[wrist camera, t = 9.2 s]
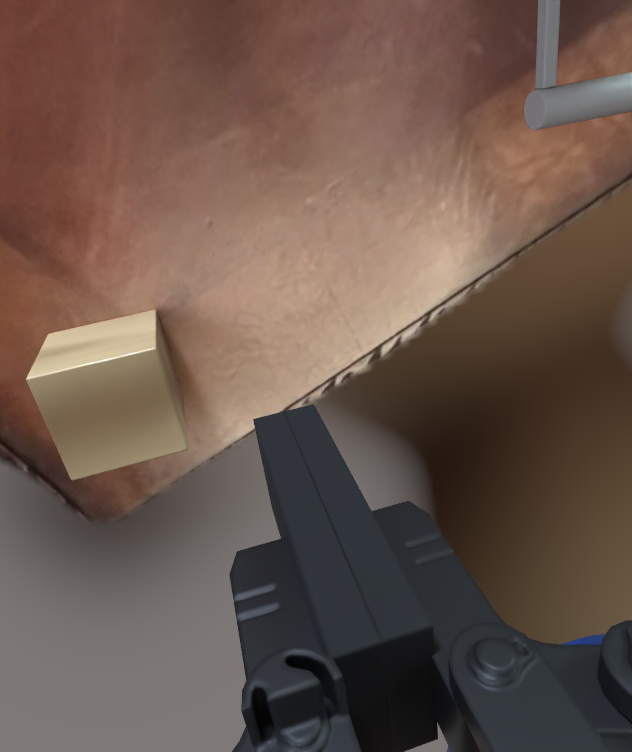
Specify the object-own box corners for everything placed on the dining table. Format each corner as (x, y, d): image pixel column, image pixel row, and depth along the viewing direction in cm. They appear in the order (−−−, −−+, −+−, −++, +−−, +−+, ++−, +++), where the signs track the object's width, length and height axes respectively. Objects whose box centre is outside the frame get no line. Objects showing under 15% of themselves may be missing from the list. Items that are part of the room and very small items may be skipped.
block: (183, 398, 28) (188, 450, 24) (84, 423, 28) (71, 481, 23) (156, 308, 26) (155, 347, 22) (47, 333, 25) (24, 379, 21)
